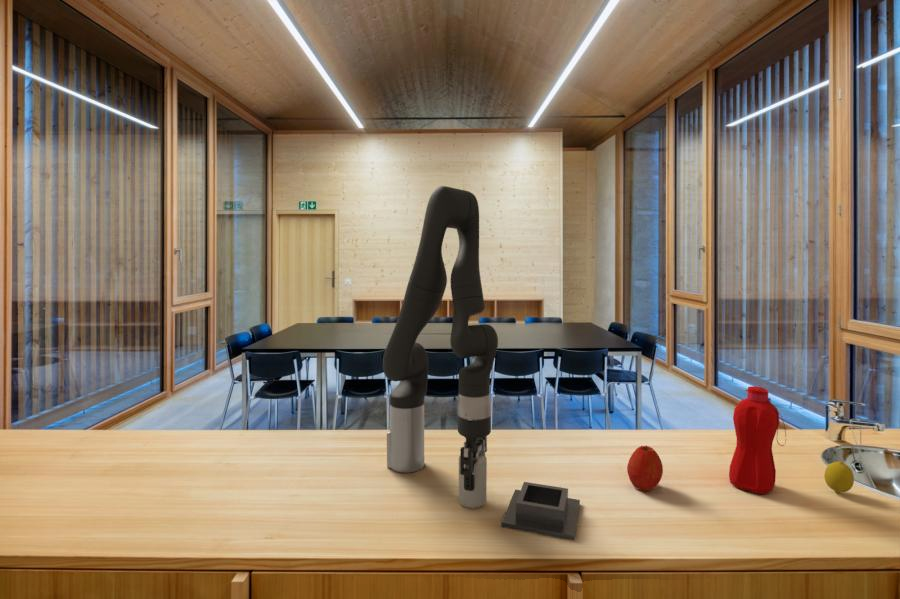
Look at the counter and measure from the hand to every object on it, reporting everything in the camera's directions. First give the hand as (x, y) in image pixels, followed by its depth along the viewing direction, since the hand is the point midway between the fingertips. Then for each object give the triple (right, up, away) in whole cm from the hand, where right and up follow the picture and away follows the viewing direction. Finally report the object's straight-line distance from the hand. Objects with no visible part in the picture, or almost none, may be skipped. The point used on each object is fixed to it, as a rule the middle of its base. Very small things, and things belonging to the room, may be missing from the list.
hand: (474, 481), depth 112 cm
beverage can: (0, -5, +1) cm, 5 cm away
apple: (+42, -5, +8) cm, 43 cm away
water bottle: (+70, -5, +9) cm, 71 cm away
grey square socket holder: (+15, -6, -5) cm, 16 cm away
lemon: (+88, -5, +6) cm, 88 cm away
